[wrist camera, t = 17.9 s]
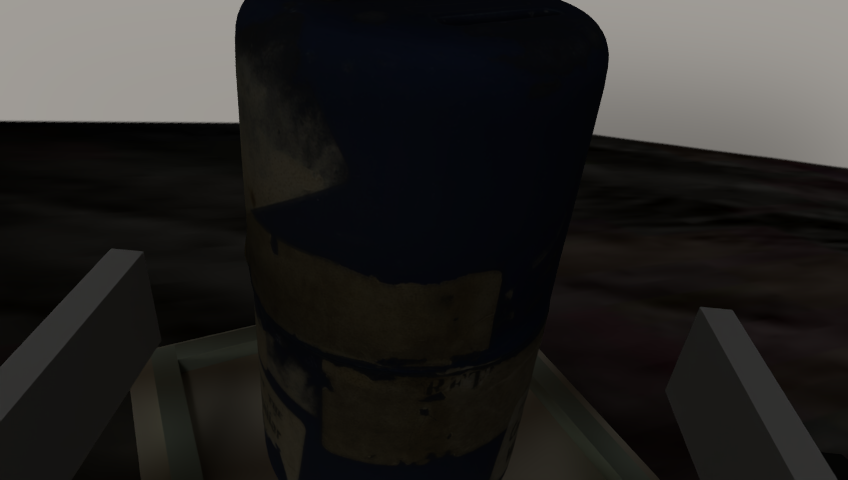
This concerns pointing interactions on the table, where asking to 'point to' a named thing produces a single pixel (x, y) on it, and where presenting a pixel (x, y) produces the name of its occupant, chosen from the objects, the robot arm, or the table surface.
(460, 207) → the canister
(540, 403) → the square tray
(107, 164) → the table surface
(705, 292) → the table surface
